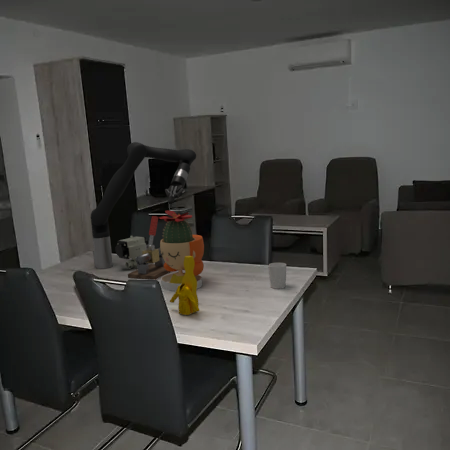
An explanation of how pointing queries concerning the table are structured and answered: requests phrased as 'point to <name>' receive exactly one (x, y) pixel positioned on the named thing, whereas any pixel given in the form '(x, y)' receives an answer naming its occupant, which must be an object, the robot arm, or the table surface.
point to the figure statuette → (187, 290)
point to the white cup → (277, 275)
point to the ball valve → (131, 249)
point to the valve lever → (152, 230)
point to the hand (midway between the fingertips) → (169, 203)
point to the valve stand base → (150, 273)
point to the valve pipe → (149, 259)
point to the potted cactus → (180, 250)
